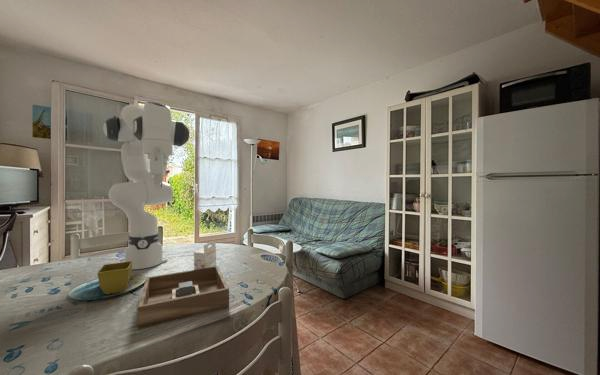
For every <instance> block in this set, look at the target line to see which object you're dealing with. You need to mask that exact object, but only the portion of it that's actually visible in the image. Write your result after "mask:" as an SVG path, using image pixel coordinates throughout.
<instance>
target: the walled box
mask: <svg viewBox="0 0 600 375" xmlns="http://www.w3.org/2000/svg"><path fill="white" fill-rule="evenodd" d="M189 281H192V285H193V294H191V295H186V296H181V297H179V283H183V282H189ZM142 288H143V289H142V292H141V295H140V299H139V303H138V306H137V327H138V328H137V330H141V329H146V328H149V327H152V326H158V325H163V324H166V323H170V322H174V321H178V320H182V319H187V318H191V317H195V316H198V315H203V314H206V313H212V312H216V311H220V310H224V309H228V308H230V288H229V285H228V284H227V282H226V279H225V278H224V276H223V273H222V272H221V270H220V268H219V266H218V265H216V266H215V267H209V268H202V269H196V270H194V269H191V270H185V271H178V272H172V273H166V274H158V275H153V276H146V279H145V281H144V285H143V287H142Z"/></svg>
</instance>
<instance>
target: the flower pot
mask: <svg viewBox="0 0 600 375" xmlns="http://www.w3.org/2000/svg"><path fill="white" fill-rule="evenodd" d="M132 270H133V269H132V261H128V262H124V261H122V262H115V263H106V264H103V265H102V266H101V268H100V269H99V270H98V271H97V278H98V279H97V280H98V284H99V287H100V289H101V291H102V292H103V293H104V294H105V295H112V294H116V293H117V292H118V293H123V292H125V290H126V288H127V286H128V285H129V281H130V279H131V277H132ZM111 293H112V294H111ZM118 293H117V294H118Z"/></svg>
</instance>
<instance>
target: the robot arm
mask: <svg viewBox="0 0 600 375" xmlns="http://www.w3.org/2000/svg"><path fill="white" fill-rule="evenodd" d="M102 128H103V133H104V135H105V137H106V138H107V139H108V140H109V141H113V142H123V144H122V145H121V148H120V156H121V163H122V167H123V173H124V175H125V176H126V178H127V179H128V180H130V181H127V182H120V183H119V182H118V183H115V184H113V185H112V186H111V187H110V189H109V190H108V198H109V199H108V200H109V201H110V203H111V204H113V205H114V206H115V207H118V208H119V210H121V211H122V212H124V214H125V215H126V217H127V220H128V227H129V228H128V229H129V235H128V240H127V241H128V246H127V247H126V248H124V260H123V262H128V261H132V270H141V269H148V268H152V267H155V266H157V265H158V266H159V265H160V264H162V263H165V262H166V263H167V262H168V258H167V257H166V255H165V254H164V251H163V244H162V243H160V241H159V240H160V234H159V231H158V228H159V227H158V225H159V224H158V222H159V221H158V218H157V216H156V215H155V214H153V213H151V212H148V211H145V210H144V206H154V205H162V204H166V203H170V202H171V201H172V199H173V197H174V190H173V187H172V186H171V185H170V184H169V183H167V182H165V181H164V179H163V178H164V177H166V174H167V165H168V160H169V158H170V157H171V156H173V155H174V154H173V146H176V147H183V145H185V144H186V143H188V141H189V139H190V129H189V128H188V126H187V124H186V123H185V122H184V121H181V120H173V118H172V113H171V107H169V106H168V105H166V104H162V103H157V102H153V101H147V102H145V103H144V105H143V106H141V105H138V104H127V105H125V106H124V107H123V108H122V109H121V112H120V116H116V115H113V117H110V118H107V119H105V121H104V124H103V127H102Z"/></svg>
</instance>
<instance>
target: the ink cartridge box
mask: <svg viewBox="0 0 600 375" xmlns="http://www.w3.org/2000/svg"><path fill="white" fill-rule="evenodd" d="M193 266H194V267H193V270H196V269H202V268H209V267H215V266H217V246H216V240H212V241H210V242H208V243H205V244H204V245H203V247H202V248H200V249H198V250H196V251H193Z"/></svg>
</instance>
